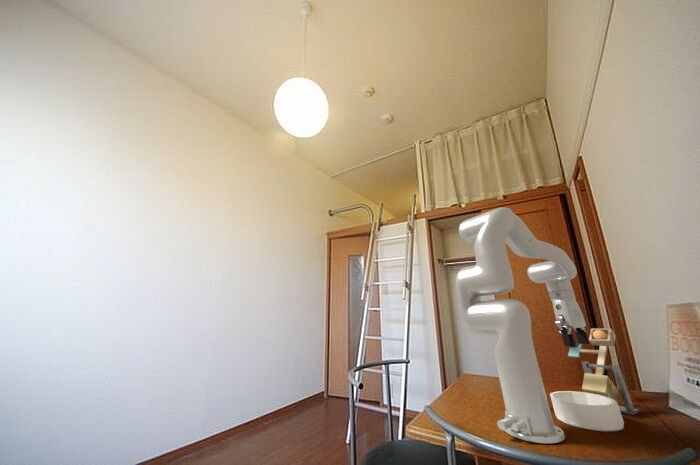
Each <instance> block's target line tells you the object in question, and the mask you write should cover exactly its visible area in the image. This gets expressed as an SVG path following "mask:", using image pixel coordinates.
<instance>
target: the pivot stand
mask: <svg viewBox="0 0 700 465" xmlns="http://www.w3.org/2000/svg"><path fill="white" fill-rule="evenodd" d="M588 364H590V362H589V361H581V365H582V368H583V372H584V374H585V373H590V374H593V371H592V368H589V366H588ZM610 366H611V367H612V370H611V371H612V372H613V375H614V378H615V381H616V384H617V386H618V390H619V393H620V396H621V399H622V402H623V406H622V405H619V404H618V406H619V409H620V412H621V414H626V415H632V416H634V415H636V414H638V413H640V410H639V409H638V408H635V407H634V404H633V402H632V399H631V396H630V392H629V390H628V387H627V384H626V381H625V378H624V375H623V373H622V369H621V367H620V364H615V363H614V364H610Z"/></svg>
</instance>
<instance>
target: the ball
mask: <svg viewBox="0 0 700 465" xmlns="http://www.w3.org/2000/svg"><path fill="white" fill-rule="evenodd" d="M593 336H594V338H595V339H608V336H607V334H606V333H605V332H604V331H601V330H596V331H594V332H593Z"/></svg>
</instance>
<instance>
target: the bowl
mask: <svg viewBox="0 0 700 465" xmlns="http://www.w3.org/2000/svg"><path fill="white" fill-rule="evenodd" d="M549 396H550V400H551V403H552V407H553V408H552V409H553V411H554V414H555V418H556V419H557V420H558V421H560V422H562V423H564V424H567V425H569V426H572V427H576V428H580V429H586V430H589V431H596V432H597V431H598V432H618V431H622V430H624V429H625V421H624V418H623V415H622V413H621V412H620V409H619V406H620V405H619V402H618V403H617V402H616V401H615V400H614V399H611V398H608V397H605V396H602V395H597V394H592V393H586V392H584V391H574V390H573V391H572V390H567V391H566V390H562V391H561V390H560V391H553V392H550V393H549ZM618 405H619V406H618Z"/></svg>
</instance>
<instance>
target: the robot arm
mask: <svg viewBox="0 0 700 465" xmlns="http://www.w3.org/2000/svg"><path fill="white" fill-rule="evenodd" d="M458 234H459V236H460V238H461V239H462V241H463V242H464V243H465V242H466V243H467V244H471V245H473V251H474V256H475V257H474V258H475V265H470V266H465V267H462V268H461V269H460V270H459V271H458V272H457V274H456V277H455V288H456V293H457V298H458V303H459V308H460V314H461V318H462V321H463V324H464V326H465V328H466V329H467V330H468V332H470V333H471V334H474V335H480V336H481V335H483V336H484V335H485V336H491V335H492V336H499V338H498V340H497V341H496V344H495V347H494V351H493V353H494V360H495V364H496V368H497V374H498V378H499V382H500V384H499V385H500V389H501V393H502V397H503V403H504V406H505V411H504V415H505V416H504V418H502V419H499V420H497V421H496V424H497V427H498V429H500V430H501V431H504V432H505V433H507V434H508V435H510V436H512V437H513V438H517V439H519V440H521V441H525V442H529V443H530V442H531V443H536V444H558V443H562V442H563V441H564V440H565V438H566V435H565V432H564V431H563V429H562V428H561V427H559V426H557V425H555V424H554V420H553V417H552V414H551V413H552V412H551V408H550V404H549V402H548V401H549V400H548V397H547V393H546V390H545V386H544V382H543V378H542V374H541V369H540V366H539V362H538V359H537V358H538V357H537V354H536V349H535V345H534V340H533V335H532V321H531V320H532V319H531V318H532V317H531V314H530V310H529V309H528V307H527V305H525V304H524V303H523V302H522V301H520V300H517V299H512V298H501V299H488V300H482V297H488V296H495V295H497V296H498V295H505V294H508V293H510V292H512V291H513V290H514V288H515V279H514V276H513V270H512V267H511V266H512V265H511V262H510V259H509V256H508V252H507V247H506V246H508V247H509V249H510V250H511V251H512V252H513V254H515V255H516V256H518V257H521V258H529V259H537V260H538V259H540V260H546V261H544V262H538V263H534V264H531V265H530V266H528V268H527V272H526V273H527V276H528V278H529V279H530V280H531V281H532V282H534V283H536V284H545V285H546V288H547V292H548V295H549V299H550V302H551V301H552V307H553V313H554V317H555V320H556V321H555V325H556V326H557V329H558V330H559V334H560V335H561V339H562V341H563V345H564V346H565V347H569V348H570V347H576V344H581V345H584V344H585V345H588V344H590V341H589V337H588V334H587V330H586V328H585V327H586V325H587V324H586V320H585V318H584V315H583V313H582V309H581V307H580V306H579V304H578V301H577V300H576V299H577V298H576V295H575V291H574V289H573V286H572V283H571V280H573V279H574V278H576V276H577V273H578V271H577V267H576V265H575V264H574V262H573V260H572V259H571V257H569V256H568V253H566V252H565V250H563V249H562V248H560V247H558V246H556V245H554V244H552V243H549V242H545V241H542V240H538V239H537V238H536V237H535V236H536V235H534V234H533V232H531V230H530V229H529V228H528V226H527V225H526V224H525V222H524V221H523V220H522V218H520V216H518V215H517V214H515V213H514V212H513V210H512V209H510V208H509V207H506V206H505V207H497V208H495V209H491V210H489V211H486V212H484V213H480V214H478V215H476V216H473V217H471V218H468V219H465V220H463V221H462V222H461V223H459V225H458ZM572 328H573V329H574V333H575V334H574V335H575V336H576V340H577V343H576V341H575V337H574V335H573V333H572Z"/></svg>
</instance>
